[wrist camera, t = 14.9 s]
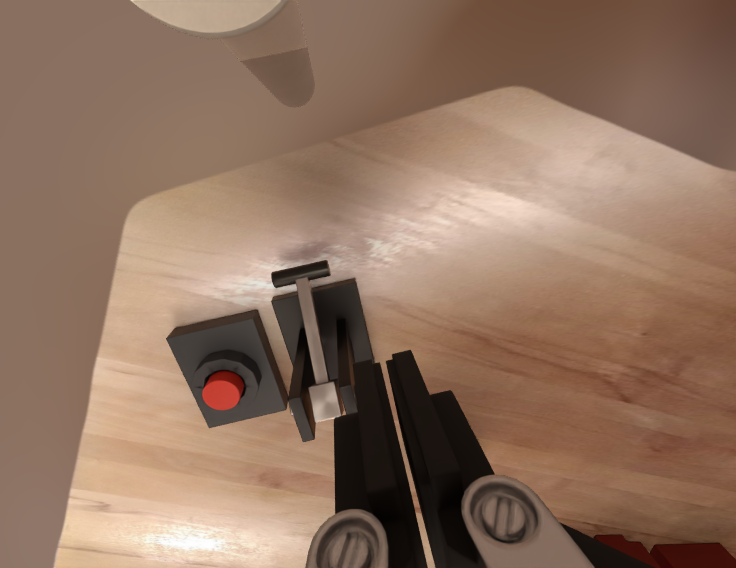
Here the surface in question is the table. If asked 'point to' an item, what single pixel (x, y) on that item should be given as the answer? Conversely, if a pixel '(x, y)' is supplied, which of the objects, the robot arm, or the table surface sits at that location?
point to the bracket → (324, 346)
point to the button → (223, 390)
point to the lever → (314, 338)
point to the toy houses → (673, 553)
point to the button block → (230, 365)
